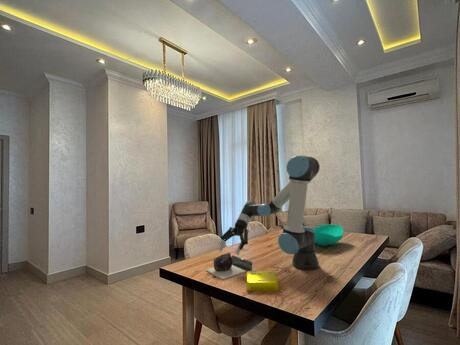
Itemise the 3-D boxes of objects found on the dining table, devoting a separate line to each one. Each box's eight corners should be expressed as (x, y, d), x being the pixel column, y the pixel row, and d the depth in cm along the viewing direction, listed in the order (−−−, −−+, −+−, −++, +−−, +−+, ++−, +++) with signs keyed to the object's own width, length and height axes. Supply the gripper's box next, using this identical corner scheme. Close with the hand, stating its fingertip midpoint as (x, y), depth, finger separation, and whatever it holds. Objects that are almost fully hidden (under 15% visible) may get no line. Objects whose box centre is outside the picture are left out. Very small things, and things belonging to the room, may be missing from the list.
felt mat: (246, 272, 130) (246, 270, 131) (222, 279, 121) (222, 278, 121) (227, 264, 144) (227, 263, 144) (205, 270, 134) (205, 269, 134)
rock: (212, 271, 134) (223, 276, 126) (210, 257, 133) (220, 260, 126) (228, 263, 141) (239, 267, 133) (225, 249, 141) (236, 252, 133)
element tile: (246, 292, 107) (246, 281, 108) (246, 279, 122) (246, 269, 123) (279, 292, 106) (279, 281, 107) (275, 279, 121) (275, 269, 122)
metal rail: (252, 270, 133) (252, 261, 133) (249, 271, 132) (249, 262, 132) (234, 263, 146) (233, 254, 147) (231, 263, 145) (231, 255, 145)
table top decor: (320, 237, 208) (319, 222, 209) (352, 243, 187) (351, 226, 188) (293, 245, 183) (293, 228, 184) (327, 253, 162) (326, 234, 163)
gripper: (261, 227, 143) (247, 259, 131) (230, 224, 159) (216, 252, 147) (255, 220, 139) (241, 251, 127) (225, 217, 155) (209, 245, 143)
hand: (227, 252), depth 137 cm, fingers open, 13 cm apart
